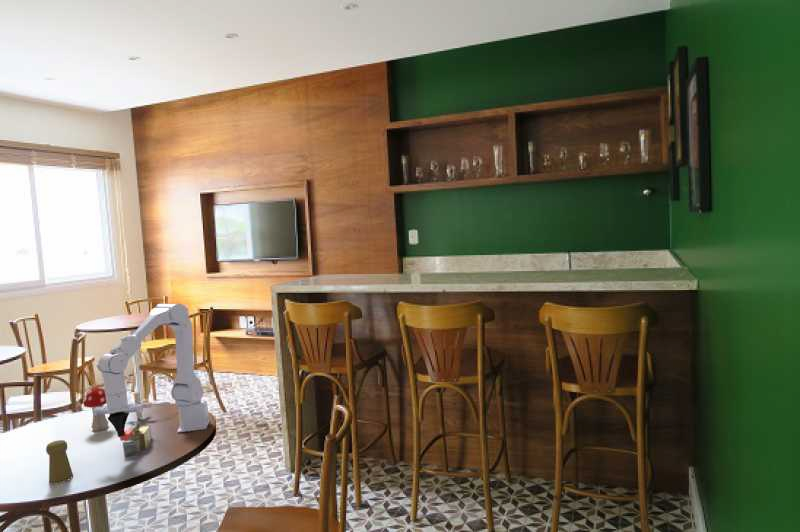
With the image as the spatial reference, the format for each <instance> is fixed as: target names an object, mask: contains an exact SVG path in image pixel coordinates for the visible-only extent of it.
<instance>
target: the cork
mask: <svg viewBox="0 0 800 532" xmlns="http://www.w3.org/2000/svg"><path fill="white" fill-rule="evenodd" d="M67 449H68V443H67V441H66V440H64V439H59V440H54V441H52V442H49V443H48V444H47V445H46V449H45V451H46V454H47V455H48V457H49V458H48V459H49V460H48V462H49V463H48V465H49V466H48V478H49V479H48V483H49V484H50V483H58V484H61V483H60V482H62V483H64V482H63V481H65V482H67V481H66V480H68V479H70V478H71V477H72V478H73V477H74V474H73V471H72V466H71V464H70V461H69V458H68V454H67ZM72 478H71V479H72ZM71 479H70V480H71ZM68 481H69V480H68Z"/></svg>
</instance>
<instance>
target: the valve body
mask: <svg viewBox="0 0 800 532" xmlns="http://www.w3.org/2000/svg"><path fill="white" fill-rule="evenodd" d="M151 428H152V427H151V425H150V424H148V425H141V427H139V428H137V429H136V430H135V431H134V432H133V435H132V436H131V437H130V438H129V439H128V440H123V441H122V448H123V449H122V450H123V455H124V457H130V456H132V457H133V456H137V455H140V454H141V451H143V450H146V449H147V448H148V447H149V446H150V444H151V443H152V437H153V436H152V429H151ZM150 442H151V443H150ZM142 449H143V450H142Z"/></svg>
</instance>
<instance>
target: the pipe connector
mask: <svg viewBox="0 0 800 532" xmlns="http://www.w3.org/2000/svg"><path fill="white" fill-rule="evenodd" d="M133 397H134V398H133V399H134V404H142V405H143V409H150V408H152V407H153V403H152V402H149V401H148V399H147V398H143V399H142V400H141V397H140V391H136V392H133ZM130 413H132V412H129V414H130ZM135 413H136V420H137V419H140V420H142V419H143V411H141V412H140V413H137V412H135ZM141 418H142V419H141Z"/></svg>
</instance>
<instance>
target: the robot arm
mask: <svg viewBox="0 0 800 532" xmlns="http://www.w3.org/2000/svg"><path fill="white" fill-rule="evenodd" d="M149 312H150V313H149V315H148V316H147V317H146V319H145V320H144V321H143V322H142V323H141V324H140V325H139V326H138V328H137V329H136V330H135V331H134V332H133V333H132V334H127V335H125V336H122V337H121V338H120V341H119V342H118V343H117V344H116V345H115V346H114V347H113V348H111V349H110V350H109V353H105V354H103V355H102V356H100V358H99V360H98V364H96V368H97V369H98V371H99V372H100V373H101V376H102V378H103V379H102V381H103V389H104V390H105V395H106V405H105V406H104V405H103V407H96V408H95V409H93V411H92V414H93V413H94V415H99V414H105V415H109V416H107V421H108V422H110V423H111V425H112V426H113V427H114V429H115V431H116V435H117V438H120V436H121V435H122V434H123V433H124V432H125V431H126V430H125V428H126V423H127V420H128V417H129V415H130V412H131V413H136V412H137V413H140V412H141V411H142V412H143V411H144V408H143V405H142V404H135V403H129V402H128V394H127V385H126V379H125V370H126V369H127V366H128V362H129V361H130V360H131V359H132V357H133V356H135V354H136V353H137V352H138V351H139V350H140V349H141V348H142V341H144V340H145V339H146V338H148V336H149V335H150V334H151V333H153V331H155V329H157V328H158V327H159V326H164V325H167V326H169V328H171V329H172V330H174V336H175V337H174V339H175V354H176V355H175V357H176V358H175V359H176V374H177V375H176V377H175V378H174V379H173V380H172V388H171V391H170V393H171V395H170V396H171V397H172V400H174V401H175V403H176V404H177V413H178V418H179V421H178V422H179V427H178V429H177V431H176V433H177V434H178V433H186V431H187V432H194V431H199V430H200V431H201V430H206V429H207V428H208V425H209V424H210V417H209V407H208V402H207V400H202V399H203V396H204V387H203V386H202V383H201V378H199V376H197V374H195V360H194V346H193V345H194V342H193V326H192V324H193V323H192V321H191V319H190V316H189V308H188V307H186V306H185V305H184V304H182V303H158V304H156V306H154V308H152V309H151V310H150V311H149Z"/></svg>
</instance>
